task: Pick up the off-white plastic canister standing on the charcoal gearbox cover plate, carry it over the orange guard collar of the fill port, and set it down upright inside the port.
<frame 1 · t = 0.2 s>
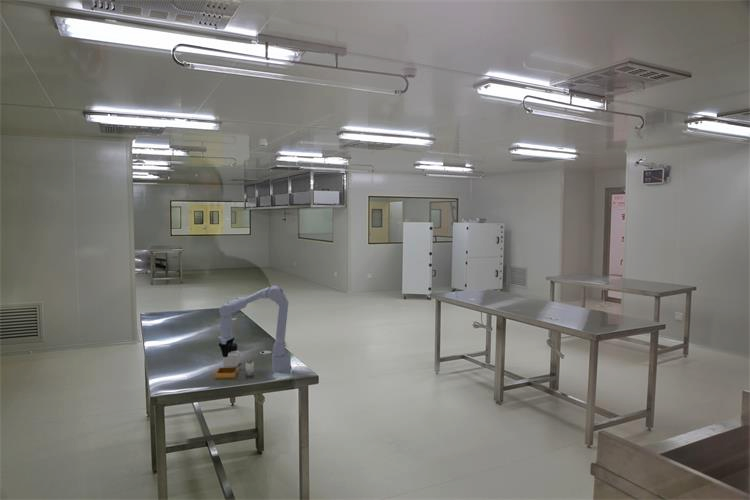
hand: (226, 354, 242), 10 cm above the table, tool pointing down, fingers open, 7 cm apart
canister: (249, 374, 239), point 1 cm above the table, touching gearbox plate
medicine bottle: (231, 366, 256), on the table
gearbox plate: (237, 376, 239), on the table
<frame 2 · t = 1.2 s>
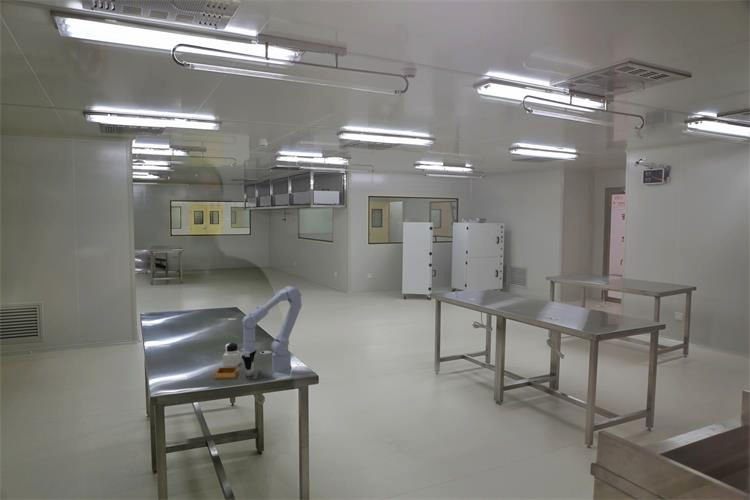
hand: (249, 367, 239), 5 cm above the table, tool pointing down, fingers open, 7 cm apart
nothing on the table moved.
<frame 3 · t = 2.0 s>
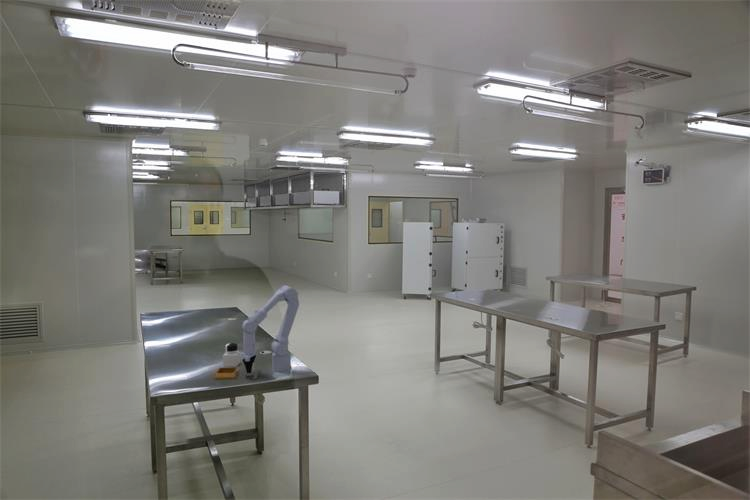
hand: (249, 371, 239), 3 cm above the table, tool pointing down, fingers closed on canister, 4 cm apart
canister: (249, 374, 239), point 1 cm above the table, touching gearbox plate, gripper
everything else where it was.
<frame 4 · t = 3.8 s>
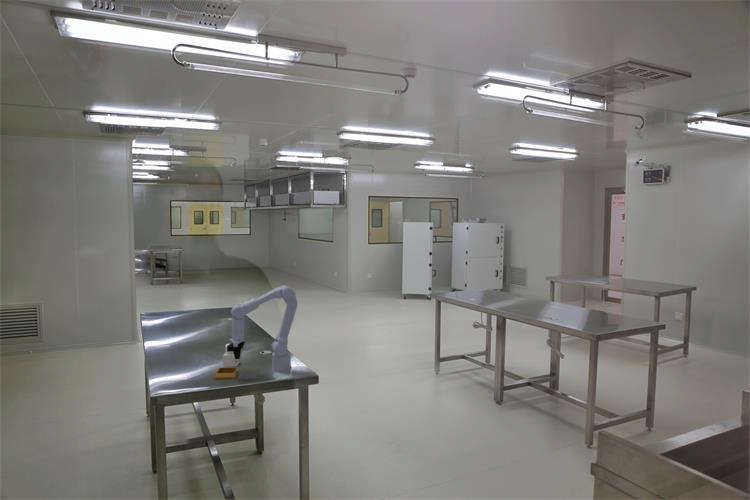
hand: (238, 357, 238), 10 cm above the table, tool pointing down, fingers closed on canister, 4 cm apart
canister: (238, 361, 238), point 8 cm above the table, touching gripper
everything else where it was.
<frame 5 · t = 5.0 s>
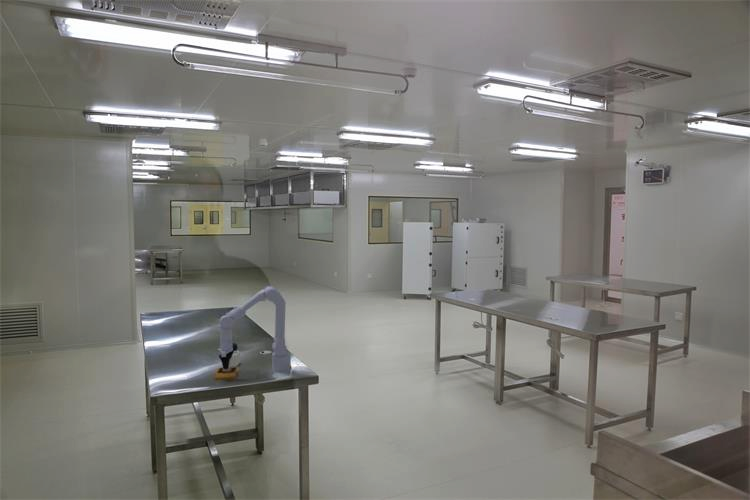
hand: (226, 367, 238), 5 cm above the table, tool pointing down, fingers closed on canister, 4 cm apart
canister: (226, 370, 238), point 3 cm above the table, touching gripper
everything else where it was.
when the fingers open (4 cm above the table, at t = 5.9 s): canister drops 2 cm, resting on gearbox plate.
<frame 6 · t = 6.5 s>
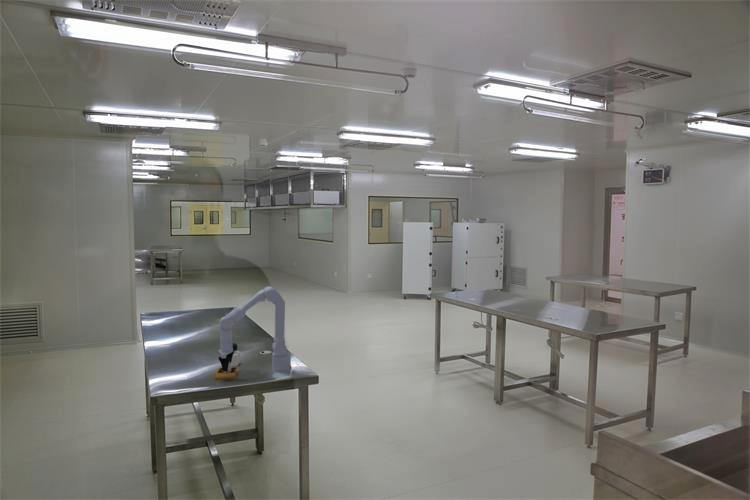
hand: (226, 368, 238), 4 cm above the table, tool pointing down, fingers open, 7 cm apart
canister: (227, 375, 238), point 1 cm above the table, touching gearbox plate
everything else where it was.
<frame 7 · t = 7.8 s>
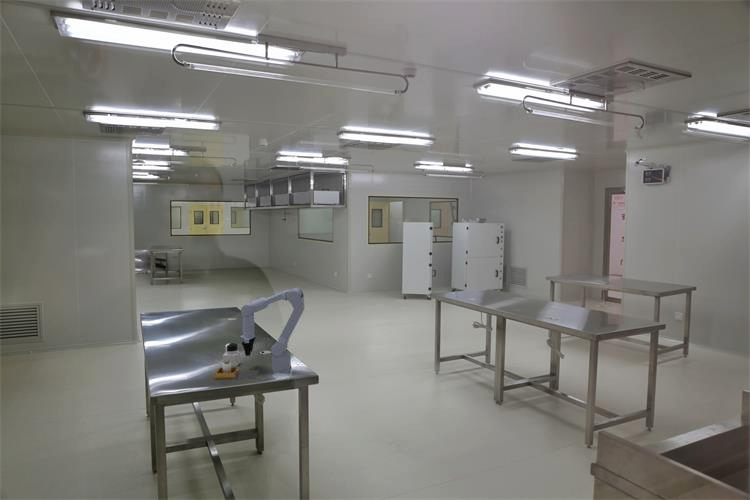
hand: (249, 353, 247), 9 cm above the table, tool pointing down, fingers open, 7 cm apart
nothing on the table moved.
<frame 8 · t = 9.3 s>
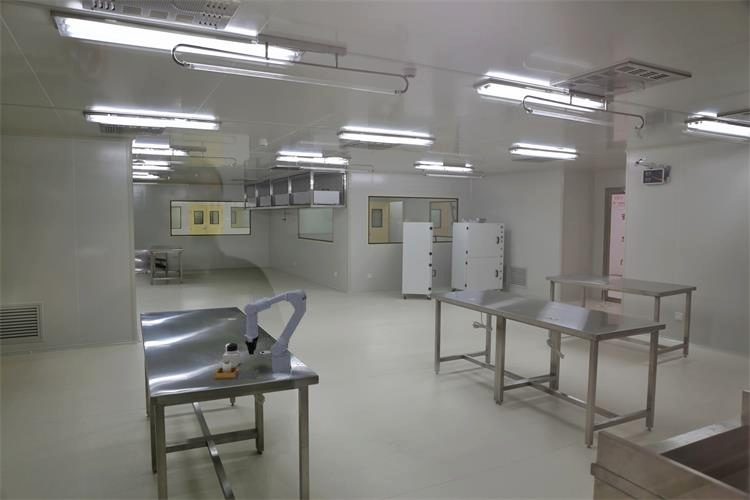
hand: (252, 352, 248), 9 cm above the table, tool pointing down, fingers open, 7 cm apart
nothing on the table moved.
at the end: canister 0.1 cm from the target spot on the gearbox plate, point 1.0 cm above the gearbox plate's base; canister tilted 0°; the gripper is holding nothing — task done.
